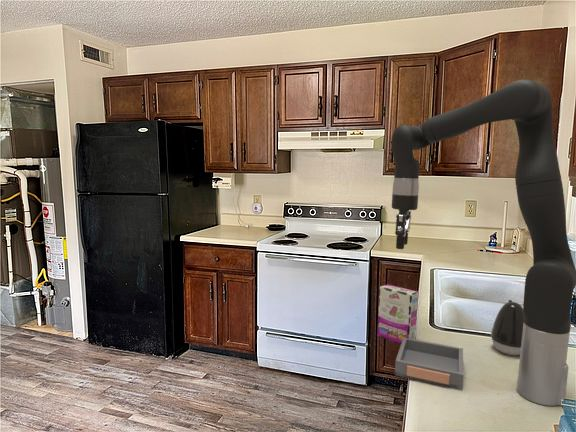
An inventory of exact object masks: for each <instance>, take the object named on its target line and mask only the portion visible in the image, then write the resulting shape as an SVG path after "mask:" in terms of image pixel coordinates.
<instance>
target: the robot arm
mask: <svg viewBox="0 0 576 432" xmlns="http://www.w3.org/2000/svg"><path fill="white" fill-rule="evenodd" d="M552 100H553V98H552V94H551V92H550V90H549V88H547V86H545V85H544V84H542V83H540V82H538V81H534V80H531V79H526V78H525V79H518V80H515V81H513V82H511V83H509V84H507V85H505V86H503V87H501V88H499V89H497V90H496V91H494V92H492V93H490V94H488V95H486V96H483V97H482V98H480V99H478V100H475V101H472V102H471V103H469V104H466V105H463V106H460V107H458V108H456V109H452V110H449V111H446V112H443V113H440V114H438V115H434V116H432V117H429V118H427V119H426V120H425V121H424V122H423V123H422V124H420V125H416V126H414V125H408V124H400V125H399V126H397V127H396V128H394V131H393V132H392V135H391V150H392V155H393V161H394V173H393V174H394V176H393V177H394V179H393V182H392V183H393V184H392V194H391V208H392V209H393V210H398V213H397V214H396V216H395V221H396V222H395V231H394V233H395V236H396V244H395V248H396V250H404V248H405V245H408V242H409V241H408V240H409V237H408V236H409V232H410V229H411V221H412V215H411V214H412V211H417V209H418V208H419V207H418V206H419V205H418V204H419V193H420V191H419V190H420V185H419V183H420V182H419V181H420V180H419V177H420V176H419V175H420V160H419V159H417V158H415V156H414V151H419V150H421V149H424V148H426V147H430V146H431V145H433V144H435V143H439V142H441V141H444V140H448V139H453V138H456V137H458V136H461V135H463V134H465V133H467V132H469V131H471V130H472V129H475V128H477V127H480V126H483V125H486V124H490V123H495V122H501V121H509V120H512V121H514V123H515V127H516V132H517V137H518V144H519V145H518V147H519V148H518V154H517V155H518V156H517V159H516V160H517V161H516V168H515V178H514V181H515V186H516V187H515V189H516V190H515V191H516V195H517V196H516V197H517V202H518V206H519V210H520V212H521V215H522V216H521V217H522V218H523V221H524V222H525V224H526V227H527V229H528V232H529V235H530V239H531V246H532V255H533V256H532V257H533V260H532V261H533V265H532V266H530V267H529V269H528V271H527V273H526V277H525V281H524V290H523V291H524V293H523V302H522V303H523V306H522V308H523V312H524V323H523V333H522V343H521V352H520V355H519V363H518V364H519V365H518V373H517V380H516V381H517V382H516V391H517V392H518V394H519V395H520V396H521V397H523V398H525V399H526V400H528V401H530V402H532V403H535V404H539V405H543V406H553V407H554V406H561V399H566V391H567V383H568V375H569V365H568V364H567V363H568V362H567V359H568V351H569V341H570V333H571V327H572V320H571V314H572V313H571V311H572V303H573V295H574V290H575V289H576V266H575V262H574V259H573V255H572V252H571V248H570V244H569V239H568V235H567V218H566V217H567V213H566V204H565V203H566V202H565V194H564V187H563V181H562V175H561V170H560V165H559V158H558V155H557V154H558V152H557V149H556V145H555V139H554V131H553V128H554V127H553V101H552Z"/></svg>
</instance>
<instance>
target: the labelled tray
mask: <svg viewBox="0 0 576 432" xmlns="http://www.w3.org/2000/svg"><path fill="white" fill-rule="evenodd" d="M394 376H396V377H402V378H404V379H409V380H413V381H419V382H423V383H426V384H432V385H437V386H440V387H446V388H449V389H453V390H459V391H462V390H463V380H464V348H463V347H457V346H451V345H446V344H441V343H436V342H430V341H424V340H421V339H416V340H415V339H410V338H403V341H402V344H400V347H399V350H398V353H397V355H396V359H395V363H394Z"/></svg>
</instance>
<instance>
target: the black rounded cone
mask: <svg viewBox="0 0 576 432" xmlns="http://www.w3.org/2000/svg"><path fill="white" fill-rule="evenodd" d="M523 323H524V312H523V306H522V305H521V304H519V302H517V301H513V300H512V299H508V302H506V303H504V304H503V305H502V306H501V308H500V309H499V311H498V313H497V314H496V317H495V319H494V322H493V325H492V328H491V332H490V338H491V341H492V344H493V346H494V347H495V348H496V350H498V351H499V352H501V353H502V354H505V355H508V356H520V352H521V343H522V333H523Z"/></svg>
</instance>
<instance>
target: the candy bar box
mask: <svg viewBox="0 0 576 432" xmlns="http://www.w3.org/2000/svg"><path fill="white" fill-rule="evenodd" d="M378 294H379V295H378V297H379V298H378V312H377V313H378V314H377V317H378V318H377V331H376V332H377V333H376V336H377V337H380V338H382V339H384V340H387V341H390V342H392V343H396V344H398V345H401V344H402V341H403V338H410V339H415V340H417V327H418V326H417V323H418V322H417V321H418V309H419V308H418V307H419V294H420V293H419V291H417V290H413V289H410V288H409V289H408V288H404V287H402V286H401V287H400V286H396V285H392V284H389V283H387V284H384V285H381V286H380V287H379V293H378Z"/></svg>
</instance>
